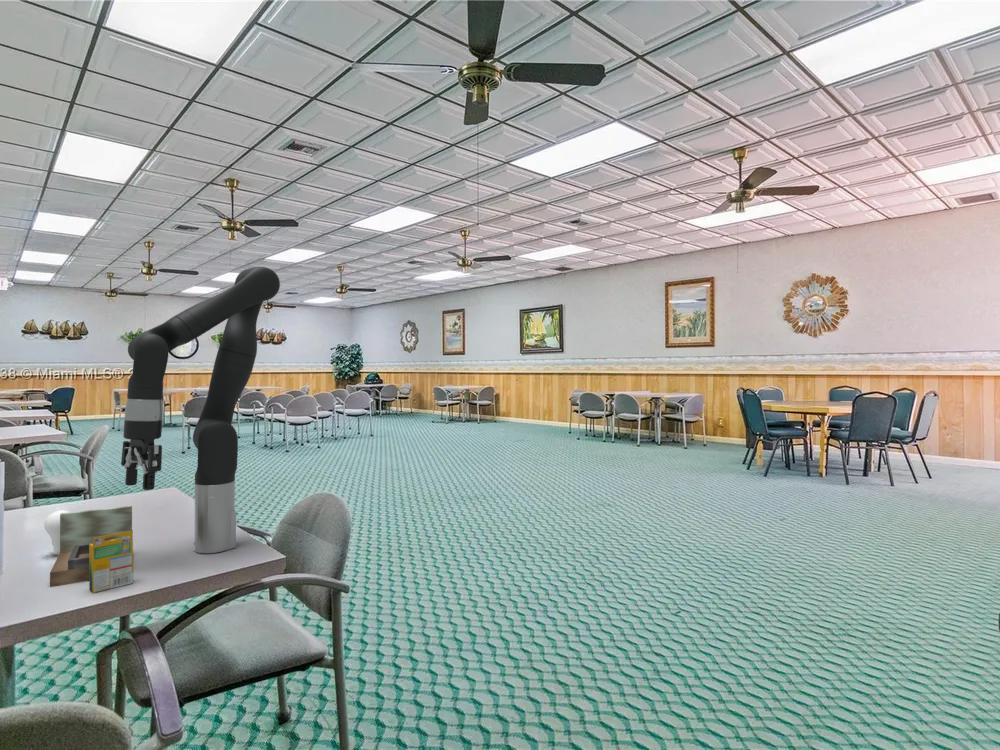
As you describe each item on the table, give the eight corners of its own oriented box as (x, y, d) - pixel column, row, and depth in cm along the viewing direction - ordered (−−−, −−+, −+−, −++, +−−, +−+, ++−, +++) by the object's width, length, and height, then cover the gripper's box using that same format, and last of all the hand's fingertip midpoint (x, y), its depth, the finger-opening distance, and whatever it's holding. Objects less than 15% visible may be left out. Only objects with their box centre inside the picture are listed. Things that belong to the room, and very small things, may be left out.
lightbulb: (65, 549, 139) (66, 506, 139) (81, 552, 137) (81, 509, 137) (38, 557, 133) (38, 512, 133) (54, 560, 131) (54, 514, 131)
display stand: (131, 553, 136) (132, 505, 136) (129, 573, 123) (129, 521, 123) (60, 563, 129) (60, 513, 129) (49, 586, 115) (50, 530, 115)
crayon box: (129, 579, 120) (129, 527, 120) (133, 583, 118) (133, 530, 118) (88, 589, 114) (88, 534, 114) (92, 593, 112) (92, 537, 112)
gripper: (175, 420, 128) (171, 489, 127) (146, 416, 136) (142, 481, 135) (140, 420, 121) (136, 493, 121) (112, 416, 129) (107, 485, 129)
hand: (139, 487), depth 128 cm, fingers open, 8 cm apart
